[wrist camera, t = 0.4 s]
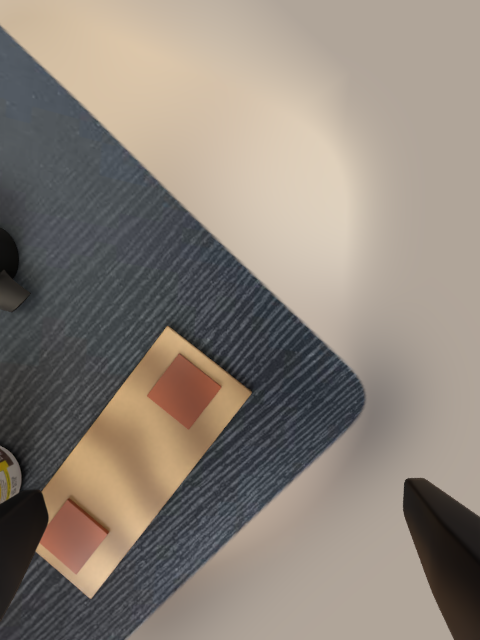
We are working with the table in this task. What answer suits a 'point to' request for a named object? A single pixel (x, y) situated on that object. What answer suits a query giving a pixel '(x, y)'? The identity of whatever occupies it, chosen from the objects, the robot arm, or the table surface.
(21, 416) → the table surface
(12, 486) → the supplement bottle
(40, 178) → the table surface
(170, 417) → the wood board
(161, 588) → the table surface
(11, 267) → the black hollow round piece
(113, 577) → the table surface
